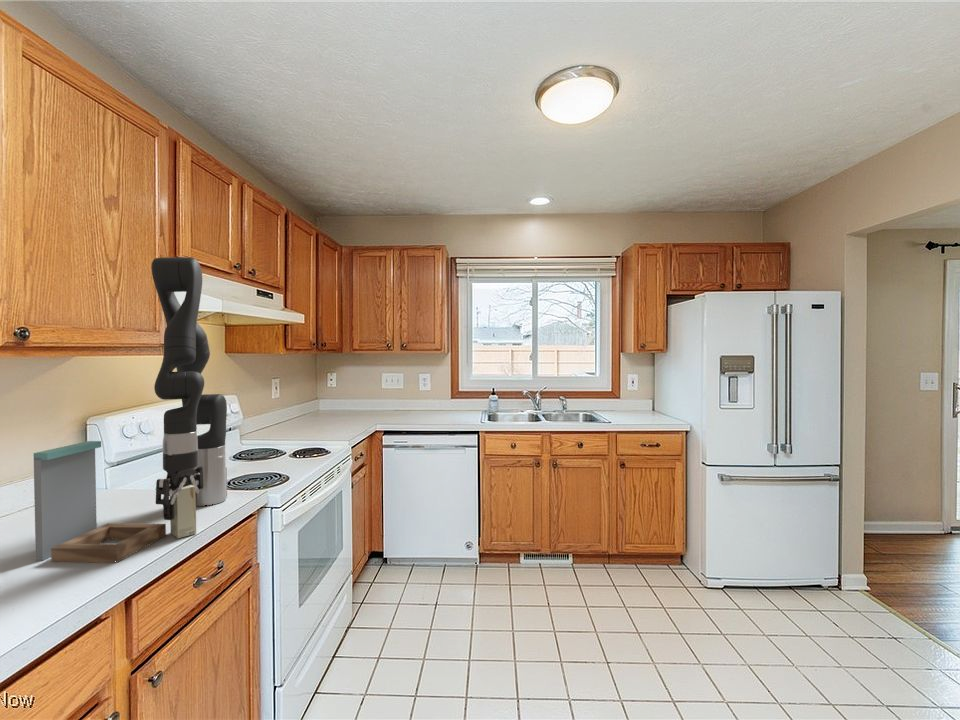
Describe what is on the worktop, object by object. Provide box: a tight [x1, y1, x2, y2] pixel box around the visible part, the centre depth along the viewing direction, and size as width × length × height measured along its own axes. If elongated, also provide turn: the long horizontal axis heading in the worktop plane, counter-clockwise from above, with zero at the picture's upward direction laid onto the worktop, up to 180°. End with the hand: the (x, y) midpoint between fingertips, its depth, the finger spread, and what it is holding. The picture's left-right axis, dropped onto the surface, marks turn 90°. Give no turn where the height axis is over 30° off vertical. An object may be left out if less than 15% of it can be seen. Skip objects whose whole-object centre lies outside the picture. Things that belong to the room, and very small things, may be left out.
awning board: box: [33, 440, 102, 562], centre depth 110 cm, size 14×3×24 cm, turn 178°
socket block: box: [50, 522, 167, 563], centre depth 110 cm, size 15×15×3 cm
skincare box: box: [169, 484, 197, 539], centre depth 119 cm, size 6×4×12 cm
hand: (181, 513), depth 118 cm, fingers open, 8 cm apart
